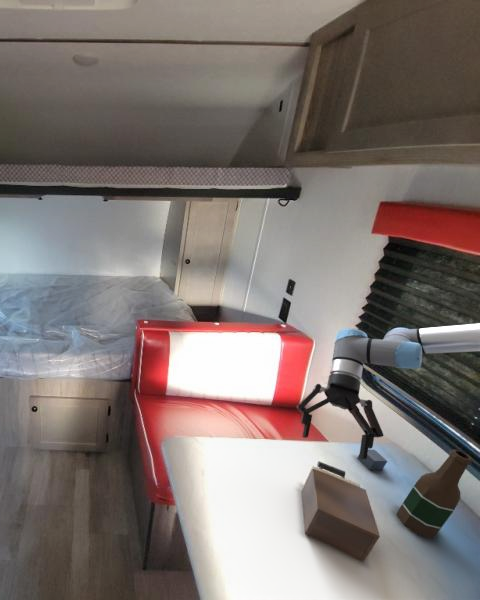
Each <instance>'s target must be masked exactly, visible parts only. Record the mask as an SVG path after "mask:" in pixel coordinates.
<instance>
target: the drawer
mask: <svg viewBox="0 0 480 600" xmlns="http://www.w3.org/2000/svg"><path fill="white" fill-rule="evenodd" d="M312 468H313V469H316V470H318V471H321V472H323V473H326V474H328V475H331V476H333V477H336V478H338V479H340V480H343V481H345V482H348V483H350V484H353V485H355V486H358V487H360V488H361V484H360V483H357V482H354V481H352V480H349V479H347V478H345V477H346V471H345V470H343V469H340V468H337V467H334V466H332V465H329V464H327V463H325V462H322V461H317V464H316V466H315V465H312V467H311V469H310V471H309V473H308V475H307V477H308V476H309V474H310V472H311V470H312ZM306 481H307V479H306V480H305V482H304V484H303V487H304V485H305V483H306ZM303 487H302V488H303Z"/></svg>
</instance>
